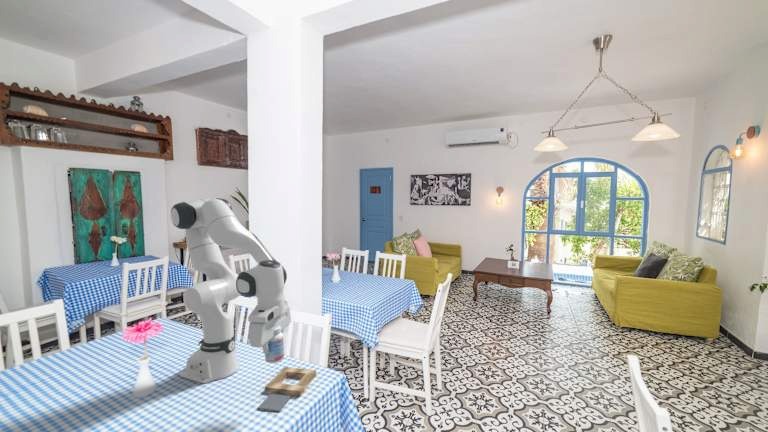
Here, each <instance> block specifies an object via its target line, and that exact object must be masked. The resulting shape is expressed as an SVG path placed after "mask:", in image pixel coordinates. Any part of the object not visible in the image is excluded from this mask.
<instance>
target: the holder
mask: <svg viewBox="0 0 768 432" xmlns="http://www.w3.org/2000/svg"><path fill="white" fill-rule="evenodd" d="M316 376H317V370H316V369H308V368H297V367H288V366H284V367H283V368H282V369H281V370H280V371H279V372H278V373H277V374H276V375H275V376H274V377H273V378H272V379H271V380H270V381H269V382H268V383H267V384H266V385H265V386H264V393H267V392H271V393H273V394H275V393H277V394H281V395H289V396H291V397H292V396H294V397H301V396H302V394H304V393H305V391H306V389H307V388H308V387H309V385H310V384H311V383H312V382H313V380H314V379H315V377H316ZM287 377H289V378H297V379H298V378H299V379H300V380H299V382H298V383H297V384H296V385H295V384H288V383H283V382H284V381H285V380H286V379H287ZM271 393H270V394H271Z"/></svg>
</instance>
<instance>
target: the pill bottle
mask: <svg viewBox="0 0 768 432" xmlns="http://www.w3.org/2000/svg"><path fill="white" fill-rule="evenodd" d="M280 331H281V326H279V327H277V328H276V329H275V330H274V334H275V336H274V337H273V338H272V339H270V340H269V341H268V347H270V352H269V353H268V354H264V356H265V357H264V358H265V359H264V360H265V362H266V363H268V364H276V363H279V362H281V361H283V359H284V358H285V347H284V333H283V334H282V333H281V332H280Z"/></svg>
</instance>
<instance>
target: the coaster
mask: <svg viewBox="0 0 768 432" xmlns="http://www.w3.org/2000/svg"><path fill="white" fill-rule="evenodd" d="M291 398H292V395H283V394H275V393H269V395H268V396H267V397H266V398H265V399H264V400H263V401H262V403H260V404H259V406H258V407H257V410H258V409H263V410H262V411H266V410H271V411H270V412H273V411H276V412H275V413H281V411H282V410H283V408H284V407H285V406H286V405H287V403H288V402H289V401H290V400H291ZM281 409H282V410H281Z"/></svg>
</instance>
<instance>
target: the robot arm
mask: <svg viewBox="0 0 768 432" xmlns="http://www.w3.org/2000/svg"><path fill="white" fill-rule="evenodd" d="M170 219H171V222H172V224H173V226H174V227H175V228H177V229H180V230H185V231H184V232H185V233H184V235H185V236H184V237H185V241H186V242H185V243H186V247H187V251H188V254H189V259H190V261H191V264H192V267H193V269H194V270H195V271H197V272H198V273H203V275H206V277H207V278H208V280H205V281H201V282H198V283H195V284H194V285H192V286H190V287H188V288H187V289H185V291H184V294H183V300H182V301H183V304H184V305H185V307H186V309H188V310H189V311H191V312H193V313H195V314H196V315H197V316H198V317H199V318H200V322H201V325H202V333H203V334H202V335H203V336H202V337H203V338H202V339H201V340H200V341H198V342H197V343H198V344H197V345H198V346H200V348H198V349H197V350H196V351H194V352H193V353H192V354H191V355H190V356H189V357H188V358H187V361H186V366H185V367H184V368H183V369H182V370H181V371H180V372H179V377H180V378H184V379H186V380H190V381H194V382H197V383H200V384H208V383H210V382H212V381H217V380H220V379H224V378H227V377H229V376H231V375H233V374H235V373H236V372H237V371H238V370H239V369H240V363H239V360H238V357H237V354H236V353H237V352H236V348H235V347H236V335H235V333H234V332H235V331H234V318H233V315H232V314H230V313H229V312H225V311H224V310H223V307H222V306H223V304H225V303H228V302H231V301H234V300H235V299H237V298H239V297H240V296H242V297H244V298H253V297H256V298H257V305H256V306H255V307H254V309H253V310H252V311H251V312H250V314H249V315H248V317H247V319H248V322H249V326H248V336H249V337H248V338H249V345H250V346H251V347H253V348H254V347H255V348H262V353H263V354H264V355H265V354H268V353H269V352H270V347H268V341H269V340H270V339H272V338H273V337H274V336H275V334H274V330H275V329H276V328H277V327H279V326H281V331H280V332H281V333H282V334H283V335H284V332H285V328H287V327H288V326H289V325H290V324H291V322H292V318H291V317H292V316H291V309H290V307H289V304H288V302H287V300H285V299H286V297H285V295H284V289H285V285H286V281H287V279H288V278H287V277H288V274H287V271H286V269H285V267H284V266H283V265H282V264H281V263H280V262H279V261H277V260H276V259H275V257H273V255H272V254H271V253H270V252H269V250H268V249H267V248H266V247H265V245H264V244H263V242H262V241H261V240H260V238H259V237H257V236H256V234H254V233H253V232H252V231H249V230H248V229H247V228H246V227H244V226H243V225H242V224H241V222H240V221H239V220H238V218H237V217H236V215H235V213H234V212H233V208H232V204H231V203H230V201H229V200H227V199H225V198H219V197H218V198H203V199H198V200H191V201H181V202H179V203H175V204H174V205H173V206H172V207H171V209H170ZM220 247H222V248H226V249H234V250H235V249H236V250H241V251H244V252H246V253H247V254H249V255H251V257H252V258H253V260H254V261H255V262H256V263H257V264H256V265H255V266H254V267H251V268H248V269H245V270H243V271H240V272H239V274H238V273H236V272H234V271H233V270H232V269H231V268H230V267H229V266H228V264H227V263H226V261H225V260H224V259H225V258H224V257H223V255H222V252H221V249H220Z"/></svg>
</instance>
